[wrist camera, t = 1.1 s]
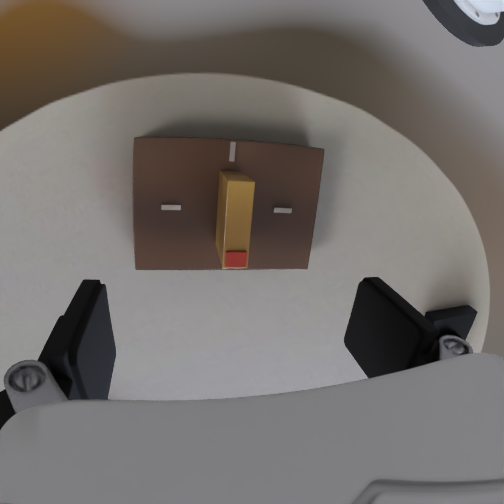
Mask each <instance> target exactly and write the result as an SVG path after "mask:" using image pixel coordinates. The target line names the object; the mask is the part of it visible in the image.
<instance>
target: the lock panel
mask: <svg viewBox="0 0 504 504" xmlns="http://www.w3.org/2000/svg"><path fill="white" fill-rule="evenodd" d="M323 156H324V149H321V148H316V147H310V146H303V145H294V144H285V143H276V142H265V141H253V140H240V139H225V138H204V137H135V138H134V147H133V232H134V254H135V269H136V270H286V269H307V268H308V262H309V256H310V250H311V243H312V237H313V230H314V224H315V217H316V210H317V203H318V196H319V188H320V181H321V173H322V165H323ZM220 171H239V172H243V173H244V174H245V175H247V176H248V177H249V178H250V179H252V180H253V181H254V182H255V188H254V199H253V210H252V221H251V232H250V244H249V255H248V266H247V268H222V265H221V261H220V257H219V254H218V250H217V247H216V224H217V206H218V190H219V175H220Z"/></svg>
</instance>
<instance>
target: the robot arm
mask: <svg viewBox="0 0 504 504" xmlns="http://www.w3.org/2000/svg"><path fill="white" fill-rule="evenodd" d="M454 2H455V3H456V4H457V5H458V6H459V7H460V9H461V10H462V11H463V12H464V13H465V14H467V15H468V16H469V17H470V18H471V19H473V20H474V21H476V22H478V23H479V24H483V25H492V24H495V23H496V22H497V21H498V20H499V17H500V12H503V11H504V0H454ZM438 333H439V329H437V328H436V327H435V326H434V325H433V324H432V323H431V322H430V321H429V320H427V319H426V318H425V317H424V316H423V315H422V314H421V313H420V312H418V311H417V310H416V309H415V308H414V307H413V306H412V305H410V304H409V303H408V302H407V301H406V300H405V299H404V298H402V297H401V296H400V295H399V294H398V293H397V292H395V291H394V290H393V289H392V288H391V287H390V286H388V285H387V284H386V283H385V282H384V281H383V280H381V279H380V278H379V277H367V278H364V279H363V280H362V281H361V282H360V283H359V285H358V289H357V293H356V297H355V301H354V305H353V308H352V312H351V316H350V319H349V323H348V326H347V330H346V333H345V337H344V343H345V346H346V347H347V349H348V350H349V352H350V353H351V354H352V356H353V357H354V359H355V360H356V361H357V363H358V364H359V366H360V367H361V368H362V370H363V371H364V373H365V374H366V375H367V377H368V378H369V379H364V380H360V381H355V382H349V383H344V384H339V385H333V386H327V387H321V388H315V389H309V390H302V391H295V392H288V393H280V394H271V395H261V396H251V397H239V398H225V399H207V400H174V401H151V400H108V394H109V388H110V383H111V378H112V372H113V367H114V362H115V358H116V347H115V342H114V336H113V331H112V325H111V319H110V312H109V305H108V298H107V291H106V286H105V284H101V283H100V280H83V281H82V283H81V285H80V286H79V288H78V290H77V292H76V294H75V295H74V297H73V299H72V301H71V303H70V305H69V306H68V308H67V310H66V312H65V314H64V316H63V315H62V316H60V317H59V319H58V320H57V322H56V324H55V326H54V328H53V330H52V332H51V334H50V336H49V338H48V340H47V342H46V344H45V346H44V348H43V350H42V352H41V354H40V357H39V359H38V361H36V360H24V361H21V362H18V363H16V364H14V365H13V366H12V367H10V368H9V369H8V371H7V372H6V374H5V376H4V386H5V390H3V391H1V392H0V504H504V358H503V357H502V356H499V355H495V354H490V353H473V350H472V347H471V346H470V345H469V343H468V342H466V341H465V340H463V339H462V338H460V337H457V336H453V335H445V336H442V337H441V338H440V340H439V342H438V341H437V340H436V337H437V335H438Z"/></svg>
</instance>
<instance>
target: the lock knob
mask: <svg viewBox="0 0 504 504" xmlns="http://www.w3.org/2000/svg"><path fill="white" fill-rule="evenodd" d="M254 188H255V182H254V181H253V180H252V179H250V178H249V177H248V176H247V175H245V174H244V173H243V172H239V171H220V175H219V190H218V206H217V224H216V247H217V250H218V254H219V257H220V261H221V265H222V268H247V266H248V255H249V244H250V232H251V221H252V210H253V199H254Z"/></svg>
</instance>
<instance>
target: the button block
mask: <svg viewBox="0 0 504 504" xmlns="http://www.w3.org/2000/svg"><path fill="white" fill-rule="evenodd" d="M476 314H477V311H476V310H475V309H473V308H472V307H471V306H469V305H466V306H460V307H455V308H449V309H443V310H437V311H431V312H426V314H425V318H426V319H427V320H429V321H430V322H431V323H432V324H433V325H434V326H435V327H436V328H437V329H439V333H438V335H437V337H436V340H437V341H438V342H439V340H440V338H441V337H442V336H445V335H453V336H457V337H460V338H462V339H463V340H466V337H467V335H468V333H469V331H470V329H471V326H472V324H473V322H474V319H475V317H476Z"/></svg>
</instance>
